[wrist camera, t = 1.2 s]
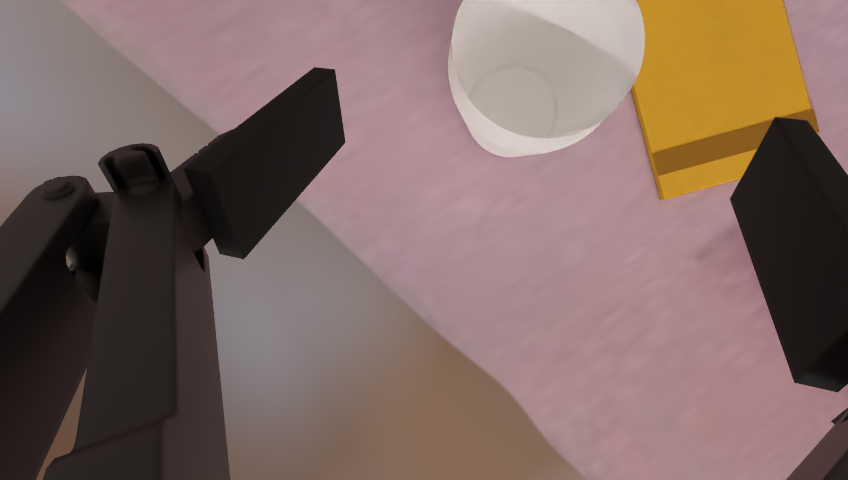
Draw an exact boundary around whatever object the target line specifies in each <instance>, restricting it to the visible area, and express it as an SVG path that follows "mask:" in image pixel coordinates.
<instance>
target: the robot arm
mask: <svg viewBox="0 0 848 480" xmlns="http://www.w3.org/2000/svg"><path fill="white" fill-rule="evenodd" d="M344 143H345V137H344V130H343V123H342V116H341V109H340V102H339V95H338V88H337V81H336V74H335V70H334V69H324V68H315V67H314V68H313V69H312V70H310V71H309V72H308V73H306V74H305V75H304V76H303V77H301V78H300V79H299V80H297V81H296V82H295V83H294V84H292V85H291V86H290V87H288V88H287V89H286V90H284V91H283V92H282V93H281V94H279V95H278V96H277V97H275V98H274V99H273V100H271V101H270V102H269V103H268V104H266V105H265V106H264V107H262V108H261V109H260V110H258V111H257V112H256V113H255V114H253V115H252V116H251V117H249V118H248V119H247V120H245V121H244V122H243V123H242V124H240V125H239V126H238V127H236V128H235V129H233V130H230V131H228V132H226V133H223V134H221V135H219V136H218V137H217V138H215V139H214V140H213V141H211V142H210V143H209V144H208V146H205V147H203V148H202V149H201V150H199V153H195V154H194V155H193V156H191V157H190V158H189V159H187V160H186V161H185V162H184V163H182V164H181V165H180V166H178V167H177V168H176V169H174V170H173V171H172V172H169V170H168V168H167V165H166V163H165V161H164V159H163V157H162V155H161V152H160V150H159V148H158V147H157V146H155V145H152V144H143V143H142V144H132V145H128V146H124V147H121V148H118V149H116V150H113V151H111V152H109V153H108V154H106V155H105V156H103V157H102V158H101V159H100V161H99V163H98V165H99V167H100V168H101V170H102V172H103V174H104V175H105V177H106V179H107V181H108V182H109V184H110V186H111V187H112V189H113V191H114V192H103V193H95V192H94V190H93V189H92V187H91V185H90V184H89V182H88V181H87V179H86V178H84V177H81V176H67V177H57V178H54V179H53V180H52V179H50V180H48V181H46V182H44V183H43V184H42V185H40V186H38V187H36V188H35V189H33V190H32V191H31V192H30V193H29V194H28V195H27V196H26V197H25V198H24V200H23V201H22V202H21V203H20V205H19V206H18V207H17V208H16V209H15V210H14V211H13V213H12V214H11V215H10V216H9V217H8V218H7V220H6V221H5V222H4V223H3V224H2V225H1V227H0V480H36V478H37V476H38V473H39V471H40V469H41V467H42V465H43V462H44V460H45V458H46V456H47V454H48V451H49V449H50V447H51V445H52V443H53V440H54V438H55V436H56V434H57V432H58V429H59V427H60V425H61V423H62V421H63V419H64V416H65V414H66V412H67V410H68V407H69V405H70V403H71V401H72V399H73V396H74V394H75V392H76V390H77V387H78V386H79V383H80V381H81V379H82V376H83V375H84V372H85V370H86V368H87V372H86V378H85V385H84V391H83V398H82V404H81V411H80V417H79V423H78V429H77V436H76V441H75V445H74V448H73V450H72V451H71V452H70V453H69V454H66V455H63V456H61V457H58V458H55V459H54V460H53V461H52V462H51V464H50V465H49V466H48V467H47V469H46V472H45V475H44V477H43V480H230V473H229V463H228V453H227V443H226V434H225V433H226V432H225V422H224V412H223V402H222V392H221V381H220V371H219V362H218V351H217V341H216V331H215V321H214V310H213V300H212V291H211V290H212V289H211V279H210V270H209V259H208V255H207V253H206V250H205V248H204V246H205V245H206V244H207V243H208V242H209V241H210V240H211V239H212V238H213V239H214V242H215V244H216V246H217V248H218V251H219V253H220V254H223V255H227V256H231V257H237V258H241V259H244V258H245V257H246V256H247V255H248V254H249V253H250V252H251V250H252V249H253V248H254V247H255V246H256V245H257V244H258V242H259V241H260V240H261V239H262V238H263V237H264V235H265V234H266V233H267V232H268V231H269V230H270V229H271V227H272V226H273V225H274V224H275V223H276V222H277V221H278V219H279V218H280V217H281V216H282V215H283V214H284V212H285V211H286V210H287V209H288V208H289V207H290V206H291V204H292V203H293V202H294V201H295V200H296V199H297V198H298V196H299V195H300V194H301V193H302V192H303V191H304V189H305V188H306V187H307V186H308V185H309V184H310V183H311V181H312V180H313V179H314V178H315V177H316V176H317V174H318V173H319V172H320V171H321V170H322V169H323V168H324V166H325V165H326V164H327V163H328V162H329V161H330V160H331V158H332V157H333V156H334V155H335V154H336V153H337V151H338V150H339V149H340V148H341V147H342V146H343V145H344ZM730 200H731V203H732V206H733V209H734V212H735V215H736V217H737V220H738V223H739V226H740V229H741V232H742V235H743V237H744V240H745V243H746V246H747V249H748V252H749V254H750V257H751V260H752V263H753V266H754V269H755V271H756V274H757V277H758V280H759V283H760V286H761V289H762V291H763V294H764V297H765V300H766V303H767V306H768V308H769V311H770V314H771V317H772V320H773V323H774V325H775V328H776V331H777V334H778V337H779V340H780V343H781V345H782V348H783V351H784V354H785V357H786V360H787V362H788V365H789V368H790V371H791V374H792V377H793V379H794V382H795V383H799V384H803V385H808V386H812V387H817V388H821V389H826V390H830V391H835V392H839V391H840V390H841V389H842V388H843V387H845V386H846V385H847V384H848V175H847V174H846V172H845V171H844V170H843V168H842V167H841V165H840V164H839V163H838V161H837V160H836V159H835V157H834V156H833V155H832V153H831V152H830V150H829V149H828V148H827V146H826V145H825V144H824V142H823V141H822V140H821V138H820V137H819V135H818V134H817V133H816V131H815V130H814V129H813V127H812V126H811V124H810V123H809V122H808V120H800V119H791V118H782V117H775V118H774V120H773V121H772V123H771V125H770V127H769V129H768V130H767V132H766V134H765V136H764V138H763V140H762V141H761V143H760V145H759V147H758V149H757V151H756V152H755V154H754V156H753V158H752V160H751V162H750V163H749V165H748V167H747V169H746V171H745V172H744V174H743V176H742V178H741V180H740V182H739V183H738V185H737V187H736V189H735V191H734V193H733V194H732V196H731V198H730ZM66 255H67V257H68V258H69V259H70V261H71V262H72V263H71V265H70V267H69V268H68V266H67V265H66ZM831 422H833V423H834V424H835V425H834V426H833V427H832V428H831V430H830V431H829V432H828V433H827V434H826V435H825V436H824V438H823V439H822V440H821V441H820V442H819V443H818V444H817V445H816V447H815V448H814V449H813V450H812V451H811V452H810V453H809V454H808V456H807V457H806V458H805V459H804V460H803V461H802V462H801V464H800V465H799V466H798V467H797V468H796V469H795V470H794V471H793V473H792V474H791V475H790V476H789V477H788V478H787V479H786V480H848V408H847V409H846V410H845V411H843V412H842V413H841V414H840V415H838V416H837V417H836V418H835V419H833V420H832V421H831Z"/></svg>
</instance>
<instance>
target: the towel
mask: <svg viewBox="0 0 848 480" xmlns="http://www.w3.org/2000/svg"><path fill="white" fill-rule="evenodd" d="M637 2H638V5H639V7H640V10H641V13H642V17H643V22H644V29H645V49H644V56H643V61H642V65H641V68H640V71H639V74H638V76H637V79H636V81H635V83H634V85H633V87H632V88H631V91H632V95H633V99H634V102H635V106H636V110H637V113H638V117H639V121H640V125H641V128H642V132H643V136H644V140H645V143H646V147H647V151H648V154H649V158H650V162H651V166H652V169H653V173H654V177H655V180H656V184H657V188H658V192H659V195H660V199H661V200H664V199H668V198H672V197H675V196H679V195H683V194H687V193H690V192H694V191H698V190H701V189H705V188H709V187H712V186H716V185H720V184H723V183H727V182H731V181H735V180H738V179H741V178H742V176H743V174H744V172H745V171H746V169H747V167H748V165H749V163H750V162H751V160H752V158H753V156H754V154H755V152H756V151H757V149H758V147H759V145H760V143H761V141H762V140H763V138H764V136H765V134H766V132H767V130H768V129H769V127H770V125H771V123H772V121H773V120H774V118H775V117H782V118H791V119H800V120H808V122H809V123H810V124H811V126H812V127H813V129H814V130H815V131H816V133H817V134H818V132H819V129H818V125H817V121H816V117H815V113H814V110H813V109H811V105H810V101H809V97H808V94H807V90H806V86H805V82H804V78H803V75H802V71H801V67H800V63H799V59H798V56H797V52H796V48H795V44H794V41H793V37H792V33H791V29H790V25H789V22H788V18H787V14H786V10H785V7H784V3H783V0H637Z"/></svg>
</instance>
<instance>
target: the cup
mask: <svg viewBox="0 0 848 480" xmlns="http://www.w3.org/2000/svg"><path fill="white" fill-rule="evenodd" d="M644 49H645V29H644V22H643V17H642V13H641V10H640V7H639V5H638V2H637V0H463V1H462V3H461V5H460V8H459V10H458V12H457V16H456V19H455V23H454V28H453V34H452V41H451V46H450V51H449V59H448V76H449V83H450V88H451V92H452V95H453V99H454V101H455V103H456V106H457V108H458V110H459V112H460V114H461V116H462V118H463V120H464V122H465V124H466V125H467V127H468V129H469V131H470V133H471V135H472V137H473V138H474V139H475V141H476V142H477V143H478V144H479V145H480V146H481V147H482V148H484V149H485V150H487V151H488V152H490V153H493V154H495V155H498V156H502V157H520V156H527V155H534V154H541V153H547V152H552V151H556V150H559V149H562V148H565V147H567V146H569V145H572V144H574V143H576V142H578V141H579V140H581V139H583V138H584V137H586V136H587V135H588V134H590V133H591V132H592V131H593V130H595V129H596V128H597V127H598V126H599V125H600V124H601V123H602V121H603V120H604V119H605V118H606V117H608V116H609V115H610V114H611V113H612V112H613V111H614V110H615V109H616V108H617V107H618V106H619V105H620V104H621V103H622V101H623V100H624V99H625V98H626V96H627V95H628V93H629V92H630V90H631V88H632V87H633V85H634V83H635V81H636V79H637V76H638V74H639V71H640V68H641V65H642V61H643V56H644Z"/></svg>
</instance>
